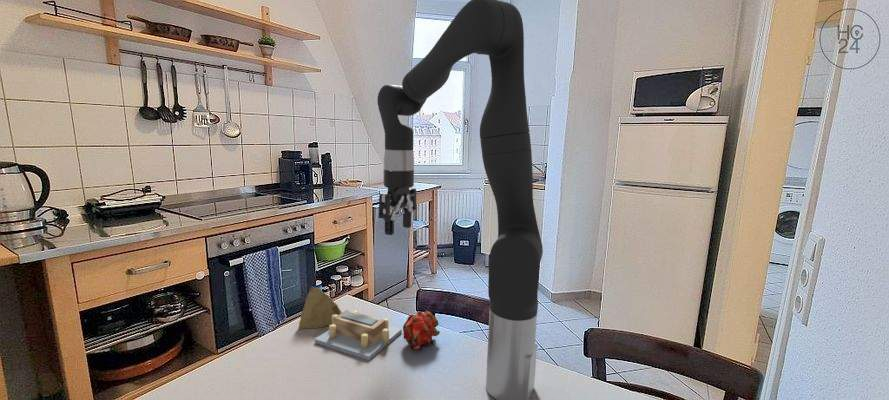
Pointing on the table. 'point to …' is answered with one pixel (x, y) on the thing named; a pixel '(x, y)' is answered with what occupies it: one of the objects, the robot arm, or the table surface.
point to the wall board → (357, 341)
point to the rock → (318, 310)
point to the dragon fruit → (420, 329)
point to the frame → (359, 326)
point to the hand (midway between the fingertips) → (398, 230)
